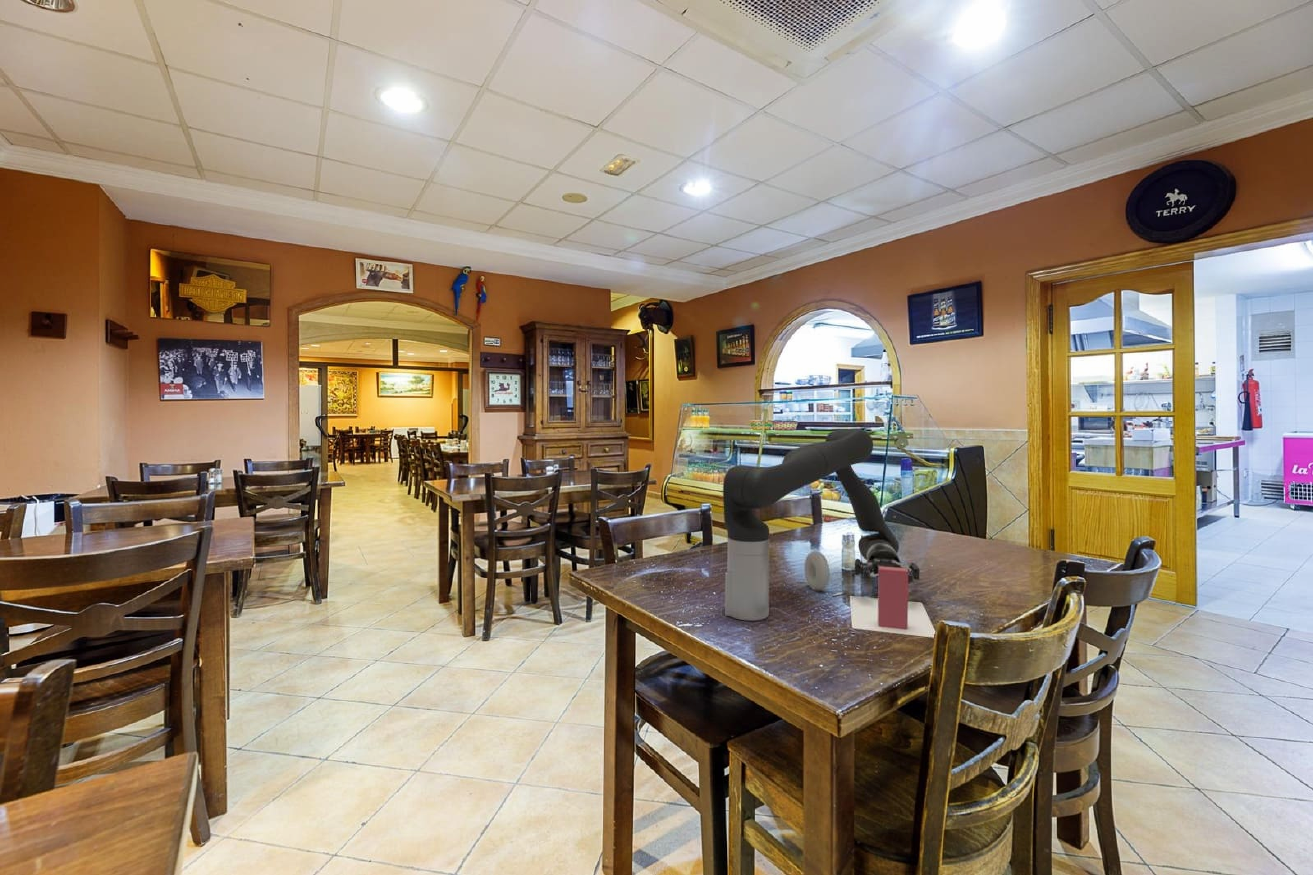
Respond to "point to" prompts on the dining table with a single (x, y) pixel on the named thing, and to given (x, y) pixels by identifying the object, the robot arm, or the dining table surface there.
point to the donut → (816, 571)
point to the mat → (867, 619)
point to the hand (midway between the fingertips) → (888, 577)
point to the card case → (893, 597)
